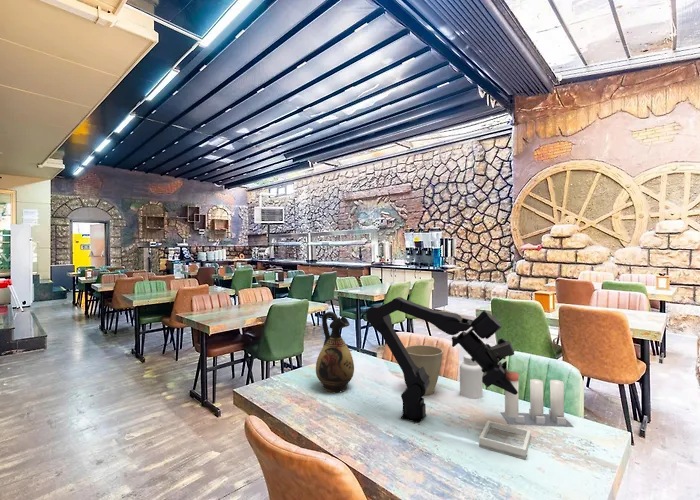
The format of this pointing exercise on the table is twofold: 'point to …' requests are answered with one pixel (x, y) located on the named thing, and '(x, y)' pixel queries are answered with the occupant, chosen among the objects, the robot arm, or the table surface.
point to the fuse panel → (536, 407)
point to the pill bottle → (470, 378)
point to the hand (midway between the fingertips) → (516, 391)
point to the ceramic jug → (334, 356)
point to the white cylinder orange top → (512, 396)
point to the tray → (505, 447)
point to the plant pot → (427, 361)
